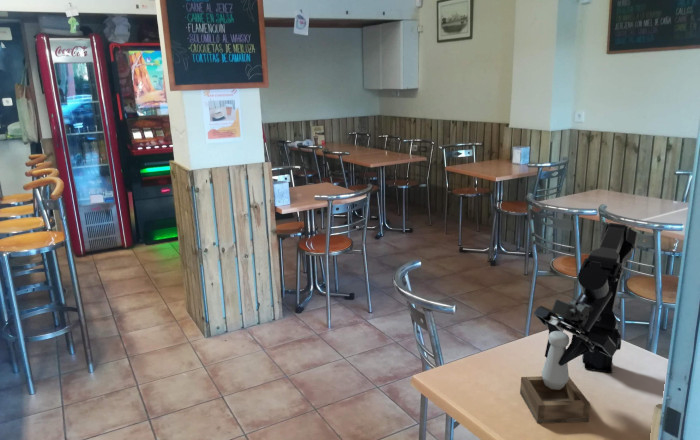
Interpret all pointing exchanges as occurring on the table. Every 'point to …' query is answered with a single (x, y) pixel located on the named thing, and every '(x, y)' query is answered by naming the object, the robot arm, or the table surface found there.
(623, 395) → the table surface
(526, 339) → the table surface
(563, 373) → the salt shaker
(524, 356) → the table surface
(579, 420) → the socket block
